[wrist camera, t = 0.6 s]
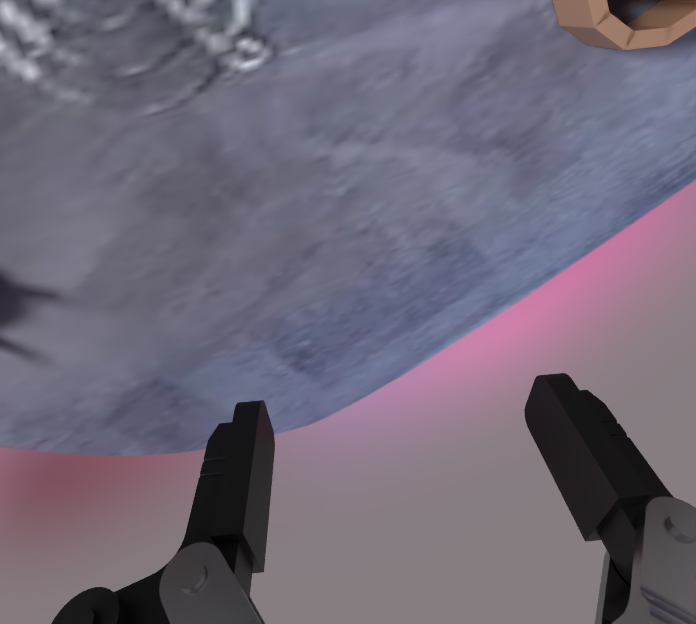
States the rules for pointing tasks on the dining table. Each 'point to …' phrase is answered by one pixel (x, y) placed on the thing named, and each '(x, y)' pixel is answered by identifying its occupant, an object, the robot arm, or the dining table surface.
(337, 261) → the dining table surface
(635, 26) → the holder ring
